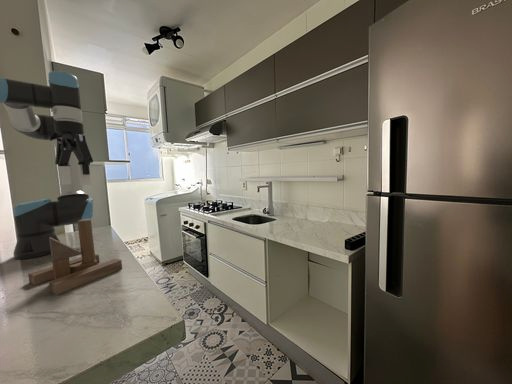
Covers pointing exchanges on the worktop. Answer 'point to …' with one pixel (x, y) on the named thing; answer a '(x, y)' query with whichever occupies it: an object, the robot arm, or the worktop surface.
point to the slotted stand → (74, 275)
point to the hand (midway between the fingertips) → (75, 184)
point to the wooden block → (73, 252)
